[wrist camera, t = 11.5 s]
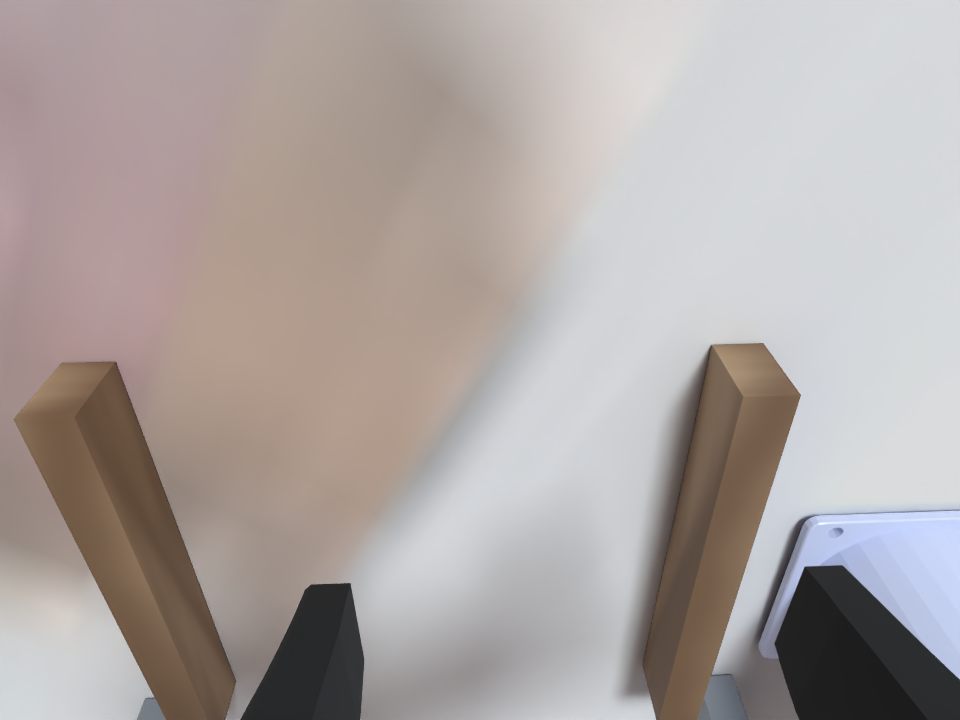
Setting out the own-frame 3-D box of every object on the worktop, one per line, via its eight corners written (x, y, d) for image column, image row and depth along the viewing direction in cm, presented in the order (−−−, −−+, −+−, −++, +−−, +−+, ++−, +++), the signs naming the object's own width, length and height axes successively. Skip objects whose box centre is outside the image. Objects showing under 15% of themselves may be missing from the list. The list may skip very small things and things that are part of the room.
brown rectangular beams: (763, 343, 19) (801, 395, 17) (677, 663, 28) (696, 723, 26) (61, 363, 19) (13, 419, 17) (199, 683, 28) (178, 745, 26)
